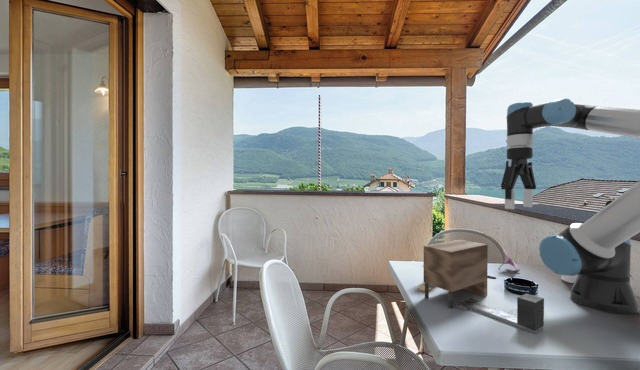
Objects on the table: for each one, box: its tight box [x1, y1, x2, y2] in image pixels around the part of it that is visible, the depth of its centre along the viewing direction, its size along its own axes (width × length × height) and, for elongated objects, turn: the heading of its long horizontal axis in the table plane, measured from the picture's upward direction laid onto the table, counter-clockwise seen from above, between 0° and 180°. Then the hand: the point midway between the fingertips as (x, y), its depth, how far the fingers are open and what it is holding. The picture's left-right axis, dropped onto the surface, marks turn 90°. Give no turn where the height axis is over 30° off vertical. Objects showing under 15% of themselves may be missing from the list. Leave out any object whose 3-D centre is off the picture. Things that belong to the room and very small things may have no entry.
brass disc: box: [418, 284, 432, 293], centre depth 102 cm, size 4×4×1 cm
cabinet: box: [423, 239, 489, 309], centre depth 96 cm, size 10×20×17 cm, turn 122°
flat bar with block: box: [456, 293, 545, 335], centre depth 82 cm, size 20×8×8 cm, turn 32°
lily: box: [498, 248, 520, 273], centre depth 124 cm, size 12×12×10 cm
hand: (519, 208), depth 102 cm, fingers open, 13 cm apart
